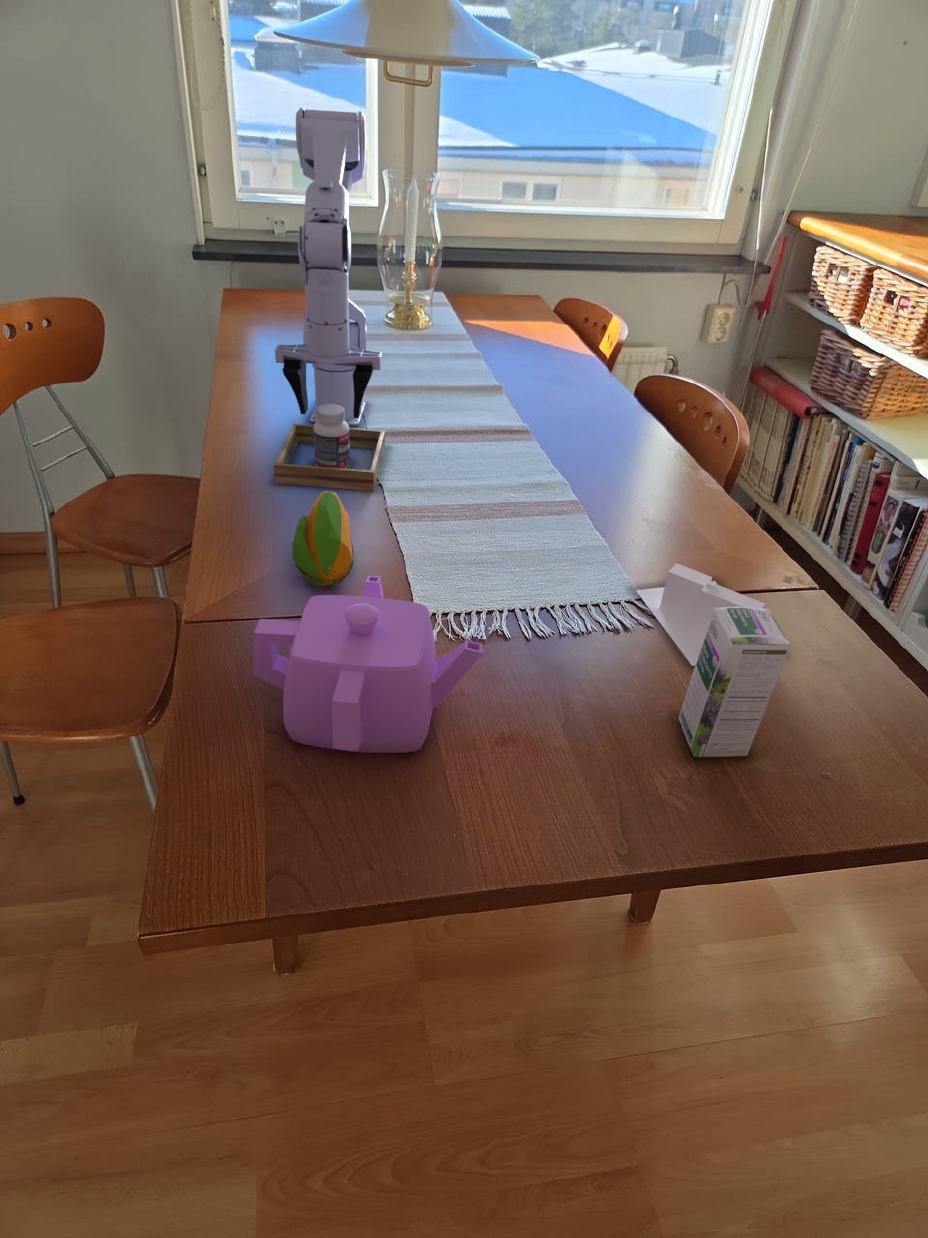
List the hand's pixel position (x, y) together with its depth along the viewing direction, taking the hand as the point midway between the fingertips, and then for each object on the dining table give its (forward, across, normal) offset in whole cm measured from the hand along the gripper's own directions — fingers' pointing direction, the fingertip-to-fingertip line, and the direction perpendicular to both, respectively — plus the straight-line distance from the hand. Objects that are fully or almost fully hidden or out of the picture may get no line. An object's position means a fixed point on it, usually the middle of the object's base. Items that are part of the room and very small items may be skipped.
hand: (330, 413), depth 122 cm
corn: (+8, +3, -25) cm, 26 cm away
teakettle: (+9, +12, -52) cm, 54 cm away
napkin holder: (+9, +50, -33) cm, 60 cm away
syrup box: (+9, +47, -53) cm, 71 cm away
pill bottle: (+8, 0, 0) cm, 9 cm away
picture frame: (+8, 0, 0) cm, 8 cm away
